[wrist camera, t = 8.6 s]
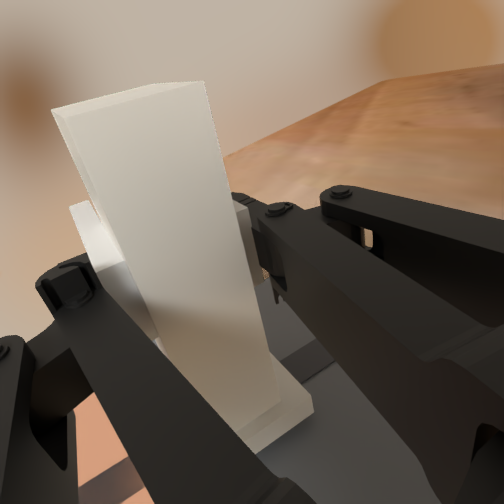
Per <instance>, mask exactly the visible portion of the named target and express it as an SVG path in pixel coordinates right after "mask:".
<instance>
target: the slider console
mask: <svg viewBox="0 0 504 504" xmlns="http://www.w3.org/2000/svg"><path fill="white" fill-rule="evenodd" d="M254 290H255V294H256V298H257V303H258V307H259V311H260V315H261V319H262V323H263V327H264V331H265V335H266V340H267V344H268V348H269V352H270V353H271V354H272V355H273V356H274V357H275V358H276V359H277V360H278V361H279V362H280V363H281V364H282V365H283V366H284V367H285V368H286V369H287V370H288V372H289V373H290V374H291V375H292V376H293V377H294V378H295V379H296V380H297V381H298V382H299V383H300V384H301V385H302V386H303V387H304V388H305V389H306V390H307V392H308V393H309V394H310V395H311V397H312V403H313V409H314V413H312V414H311V415H310V416H308V417H307V418H305V419H304V420H303V421H301V422H300V423H298V424H297V425H296V426H294V427H293V428H291V429H290V430H289V431H287V432H286V433H284V434H283V435H282V436H280V437H279V438H277V439H276V440H275V441H273V442H272V443H271V444H269V445H268V446H266V447H265V448H264V449H262V450H261V451H259V452H258V453H257V454H255V455H256V456H257V457H258V458H259V459H260V460H261V461H262V463H263V464H264V465H265V466H266V467H267V468H268V469H269V470H270V471H271V472H272V473H273V474H274V475H276V476H277V477H279V478H283V477H287V478H289V479H290V480H292V481H293V482H295V483H296V484H297V485H298V486H300V487H301V488H302V489H303V490H304V491H305V492H306V493H307V494H308V495H309V496H310V497H311V498H312V499H313V500H314V501H315V502H316V503H317V504H442V503H441V502H440V501H439V499H438V498H437V497H436V495H435V493H434V491H433V490H432V488H431V486H430V484H429V482H428V480H427V477H426V475H425V472H424V470H423V468H422V465H421V464H420V462H419V460H418V459H417V457H416V456H415V455H414V453H413V452H412V451H411V450H410V448H409V447H408V446H407V445H406V444H405V442H404V441H403V440H402V439H401V438H400V437H399V435H398V434H397V433H396V432H395V431H394V429H393V428H392V427H391V426H390V425H389V424H388V422H387V421H386V420H385V419H384V418H383V416H382V415H381V414H380V413H379V412H378V411H377V409H376V408H375V407H374V406H373V405H372V403H371V402H370V401H369V400H368V399H367V398H366V396H365V395H364V394H363V393H362V392H361V390H360V389H359V388H358V387H357V386H356V384H355V383H354V382H353V381H352V380H351V379H350V377H349V376H348V375H347V374H346V373H345V371H344V370H343V369H342V368H341V367H340V366H339V364H338V363H337V362H336V361H335V360H334V358H333V357H332V356H331V355H330V354H329V353H328V351H327V350H326V349H325V348H324V347H323V345H322V344H321V343H320V342H319V341H318V340H317V338H316V337H315V336H314V335H313V334H312V332H311V331H310V330H309V329H308V328H307V327H306V325H305V324H304V323H303V322H302V321H301V319H300V318H299V317H298V316H297V315H296V314H295V312H294V311H293V310H292V309H291V308H290V306H289V305H288V304H287V303H286V302H285V301H283V298H282V297H281V296H280V295H279V297H278V300H279V304H276V303H275V300H274V296H273V291H272V286H271V281H270V277H269V278H267V279H265V280H264V282H263V283H261V284H259V285H257V286H255V287H254ZM152 342H153V343H154V344H155V345H156V346H157V347H158V345H157V343H156V341H155V339H154V340H152ZM73 410H74V413H75V416H76V440H77V467H78V494H79V504H154V502H153V500H152V499H151V497H150V495H149V493H148V491H147V489H146V487H145V486H144V484H143V482H142V480H141V478H140V476H139V474H138V473H137V471H136V469H135V467H134V465H133V463H132V461H131V460H130V458H129V456H128V454H127V452H126V450H125V449H124V447H123V445H122V443H121V441H120V439H119V437H118V436H117V434H116V432H115V430H114V428H113V426H112V424H111V423H110V421H109V419H108V417H107V415H106V413H105V412H104V410H103V408H102V406H101V404H100V402H99V400H98V399H97V397H96V395H95V393H94V392H93V393H92V394H91V395H90V396H89V397H87V398H86V399H85V400H84V401H83V402H81V403H80V404H79V405H78V406H77V407H75V408H74V409H73Z"/></svg>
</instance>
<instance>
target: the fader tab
mask: <svg viewBox="0 0 504 504" xmlns="http://www.w3.org/2000/svg"><path fill="white" fill-rule="evenodd" d="M51 112H52V114H53V116H54V119H55V121H56V123H57V125H58V127H59V130H60V132H61V134H62V136H63V138H64V141H65V143H66V145H67V147H68V149H69V151H70V154H71V156H72V158H73V160H74V163H75V165H76V167H77V169H78V171H79V173H80V176H81V178H82V180H83V182H84V185H85V187H86V189H87V191H88V193H89V196H90V198H91V200H92V202H93V204H94V207H95V209H96V211H97V213H98V215H99V218H100V220H101V222H102V224H103V226H104V228H105V229H106V231H107V233H108V234H109V236H110V238H111V239H112V241H113V243H114V244H115V246H116V247H117V249H118V251H119V252H120V254H121V256H122V257H123V259H124V261H125V263H126V265H127V268H128V270H129V272H130V274H131V277H132V279H133V281H134V283H135V285H136V288H137V290H138V292H139V294H140V297H141V299H142V301H143V303H144V306H145V308H146V310H147V312H148V314H149V317H150V319H151V321H152V323H153V326H154V328H155V330H156V332H157V335H158V338H156V339H155V341H156V343H157V345H158V348H159V349H160V350H161V351H162V353H163V354H164V355H165V356H166V357H167V358H168V359H169V360H170V361H171V362H172V364H173V365H174V366H175V367H176V368H177V369H178V370H179V371H180V372H181V373H182V375H183V376H184V377H185V378H186V379H187V380H188V381H189V382H190V383H191V384H192V386H193V387H194V388H195V389H196V390H197V391H198V392H199V393H200V394H201V395H202V397H203V398H204V399H205V400H206V401H207V402H208V403H209V404H210V405H211V406H212V408H213V409H214V410H215V411H216V412H217V413H218V414H219V415H220V416H221V417H222V419H223V420H224V421H225V422H226V423H227V424H228V425H229V426H230V427H231V428H232V430H233V431H234V432H235V433H236V434H237V435H238V436H239V437H240V438H241V439H242V441H243V442H244V443H245V444H246V445H247V446H248V447H249V448H250V449H251V450H252V452H253V453H254V454H257V453H258V452H259V451H261V450H262V449H264V448H265V447H266V446H268V445H269V444H271V443H272V442H273V441H275V440H276V439H277V438H279V437H280V436H282V435H283V434H284V433H286V432H287V431H289V430H290V429H291V428H293V427H294V426H296V425H297V424H298V423H300V422H301V421H303V420H304V419H305V418H307V417H308V416H310V415H311V414H312V413H314V409H313V403H312V397H311V395H310V394H309V393H308V392H307V390H306V389H305V388H304V387H303V386H302V385H301V384H300V383H299V382H298V381H297V380H296V379H295V378H294V377H293V376H292V375H291V374H290V373H289V372H288V370H287V369H286V368H285V367H284V366H283V365H282V364H281V363H280V362H279V361H278V360H277V359H276V358H275V357H274V356H273V355H272V354H271V353H270V352H269V348H268V344H267V340H266V335H265V331H264V327H263V323H262V319H261V315H260V311H259V307H258V303H257V298H256V294H255V290H254V286H253V282H252V278H251V274H250V270H249V265H248V261H247V257H246V253H245V249H244V245H243V241H242V237H241V233H240V228H239V224H238V220H237V216H236V212H235V208H234V204H233V200H232V196H231V191H230V187H229V183H228V179H227V175H226V171H225V167H224V163H223V158H222V155H221V150H220V146H219V142H218V138H217V134H216V130H215V126H214V121H213V117H212V113H211V109H210V105H209V101H208V97H207V93H206V88H205V84H204V81H191V82H174V83H155V84H149V85H145V86H141V87H137V88H133V89H129V90H125V91H121V92H118V93H114V94H110V95H106V96H102V97H98V98H94V99H90V100H87V101H83V102H78V103H74V104H71V105H67V106H63V107H59V108H55V109H51Z"/></svg>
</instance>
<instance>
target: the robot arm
mask: <svg viewBox="0 0 504 504" xmlns="http://www.w3.org/2000/svg"><path fill="white" fill-rule="evenodd" d="M231 196H232V200H233V204H234V208H235V212H236V216H237V220H238V224H239V228H240V233H241V237H242V241H243V245H244V249H245V253H246V257H247V261H248V265H249V270H250V274H251V278H252V282H253V286H254V287H255V286H257V285H259V284H261V283H263V282H264V277H263V273H262V268H264V269H265V270H266V271H268V272H269V277H270V281H271V286H272V291H273V296H274V300H275V303H276V304H279V300H278V297H279V295H280V296H281V297H282V298H283V301H285V302H286V303H287V304H288V305H289V306H290V308H291V309H292V310H293V311H294V312H295V314H296V315H297V316H298V317H299V318H300V319H301V321H302V322H303V323H304V324H305V325H306V327H307V328H308V329H309V330H310V331H311V332H312V334H313V335H314V336H315V337H316V338H317V340H318V341H319V342H320V343H321V344H322V345H323V347H324V348H325V349H326V350H327V351H328V353H329V354H330V355H331V356H332V357H333V358H334V360H335V361H336V362H337V363H338V364H339V366H340V367H341V368H342V369H343V370H344V371H345V373H346V374H347V375H348V376H349V377H350V379H351V380H352V381H353V382H354V383H355V384H356V386H357V387H358V388H359V389H360V390H361V392H362V393H363V394H364V395H365V396H366V398H367V399H368V400H369V401H370V402H371V403H372V405H373V406H374V407H375V408H376V409H377V411H378V412H379V413H380V414H381V415H382V416H383V418H384V419H385V420H386V421H387V422H388V424H389V425H390V426H391V427H392V428H393V429H394V431H395V432H396V433H397V434H398V435H399V437H400V438H401V439H402V440H403V441H404V442H405V444H406V445H407V446H408V447H409V448H410V450H411V451H412V452H413V453H414V455H415V456H416V457H417V459H418V460H419V462H420V464H421V465H422V468H423V470H424V472H425V475H426V477H427V480H428V482H429V484H430V486H431V488H432V490H433V491H434V493H435V495H436V497H437V498H438V499H439V501H440V502H441V503H442V504H504V220H501V219H497V218H492V217H488V216H484V215H479V214H475V213H470V212H466V211H462V210H457V209H453V208H448V207H444V206H440V205H435V204H431V203H426V202H422V201H417V200H413V199H409V198H404V197H400V196H395V195H391V194H387V193H382V192H378V191H373V190H369V189H365V188H360V187H356V186H348V185H346V186H344V185H337V186H333V187H331V188H329V189H326V190H325V191H323V192H322V193H321V194H320V205H321V206H318V207H315V208H311V209H307V210H303V209H302V208H300V207H299V206H297V205H296V204H293V203H290V202H279V203H273V204H270V205H267V204H265V203H262V202H260V201H258V200H257V201H256V199H254V198H252V197H251V198H250V196H247V195H245V194H243V193H234V192H232V193H231ZM69 209H70V212H71V214H72V217H73V219H74V222H75V224H76V226H77V229H78V232H79V234H80V237H81V239H82V241H83V244H84V247H85V249H86V253H84V254H81V255H79V256H76V257H74V258H71V259H69V260H66V261H64V262H61V263H59V264H58V265H57V266H55V267H54V268H52V269H50V270H48V271H47V272H45V273H44V274H43V275H42V276H40V277H39V279H38V280H37V282H36V283H35V288H36V289H37V291H38V293H39V294H40V296H41V297H42V299H43V301H44V302H45V304H46V305H47V307H48V309H49V310H50V312H51V314H52V315H53V317H54V319H55V320H54V321H53V323H52V324H51V325H50V326H49V327H48V328H47V329H46V330H44V331H43V332H41V333H40V334H39V335H37V336H36V337H34V338H33V339H31V340H30V341H28V342H27V343H26V342H25V341H24V339H23V338H22V337H20V336H17V335H11V336H5V337H2V338H0V504H79V494H78V467H77V440H76V416H75V413H74V410H73V409H74V408H75V407H77V406H78V405H79V404H80V403H81V402H83V401H84V400H85V399H86V398H87V397H89V396H90V395H91V394H92V393H93V392H94V393H95V395H96V397H97V399H98V400H99V402H100V404H101V406H102V408H103V410H104V412H105V413H106V415H107V417H108V419H109V421H110V423H111V424H112V426H113V428H114V430H115V432H116V434H117V436H118V437H119V439H120V441H121V443H122V445H123V447H124V449H125V450H126V452H127V454H128V456H129V458H130V460H131V461H132V463H133V465H134V467H135V469H136V471H137V473H138V474H139V476H140V478H141V480H142V482H143V484H144V486H145V487H146V489H147V491H148V493H149V495H150V497H151V499H152V500H153V502H154V504H317V503H316V502H315V501H314V500H313V499H312V498H311V497H310V496H309V495H308V494H307V493H306V492H305V491H304V490H303V489H302V488H301V487H300V486H298V485H297V484H296V483H295V482H293V481H292V480H290V479H289V478H287V477H283V478H279V477H277V476H276V475H274V474H273V473H272V472H271V471H270V470H269V469H268V468H267V467H266V466H265V465H264V464H263V463H262V461H261V460H260V459H259V458H258V457H257V456H256V455H255V454H254V453H253V452H252V450H251V449H250V448H249V447H248V446H247V445H246V444H245V443H244V442H243V441H242V439H241V438H240V437H239V436H238V435H237V434H236V433H235V432H234V431H233V430H232V428H231V427H230V426H229V425H228V424H227V423H226V422H225V421H224V420H223V419H222V417H221V416H220V415H219V414H218V413H217V412H216V411H215V410H214V409H213V408H212V406H211V405H210V404H209V403H208V402H207V401H206V400H205V399H204V398H203V397H202V395H201V394H200V393H199V392H198V391H197V390H196V389H195V388H194V387H193V386H192V384H191V383H190V382H189V381H188V380H187V379H186V378H185V377H184V376H183V375H182V373H181V372H180V371H179V370H178V369H177V368H176V367H175V366H174V365H173V364H172V362H171V361H170V360H169V359H168V358H167V357H166V356H165V355H164V354H163V353H162V351H161V350H160V349H159V348H158V347H157V346H156V345H155V344H154V343H153V342H152V340H154V339H156V338H158V335H157V332H156V330H155V328H154V326H153V323H152V321H151V319H150V317H149V314H148V312H147V310H146V308H145V306H144V303H143V301H142V299H141V297H140V294H139V292H138V290H137V288H136V285H135V283H134V281H133V279H132V277H131V274H130V272H129V270H128V268H127V265H126V263H125V261H124V259H123V257H122V256H121V254H120V252H119V251H118V249H117V247H116V246H115V244H114V243H113V241H112V239H111V238H110V236H109V234H108V233H107V231H106V229H105V228H104V226H103V224H102V223H101V221H100V219H99V218H98V216H97V214H96V213H95V211H94V209H93V208H92V206H91V204H90V203H89V201H88V200H86V201H84V202H80V203H78V204H75V205H72V206H69ZM364 228H365V229H368V230H371V231H373V247H368V246H365V234H364ZM261 267H262V268H261Z"/></svg>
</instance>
